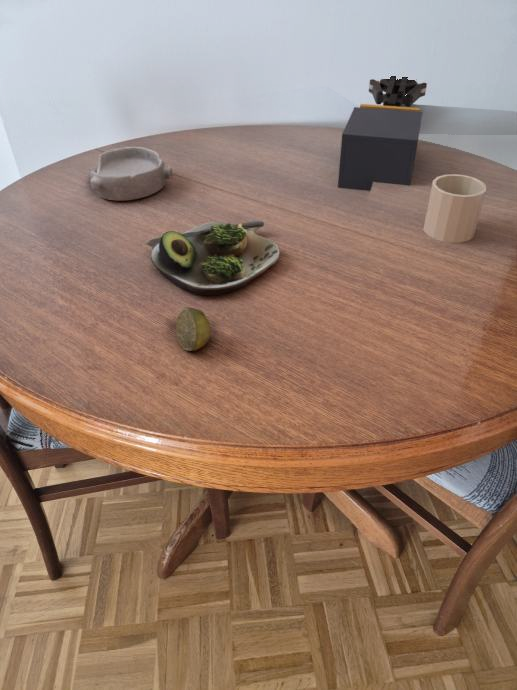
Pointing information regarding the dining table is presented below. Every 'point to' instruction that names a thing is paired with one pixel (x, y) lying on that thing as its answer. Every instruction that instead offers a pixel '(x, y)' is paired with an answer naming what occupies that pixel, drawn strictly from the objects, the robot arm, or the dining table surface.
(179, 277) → the salad plate
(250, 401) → the dining table surface
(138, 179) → the dish
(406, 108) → the drawer
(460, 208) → the cup
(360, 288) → the dining table surface
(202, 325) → the lime
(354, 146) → the cabinet
